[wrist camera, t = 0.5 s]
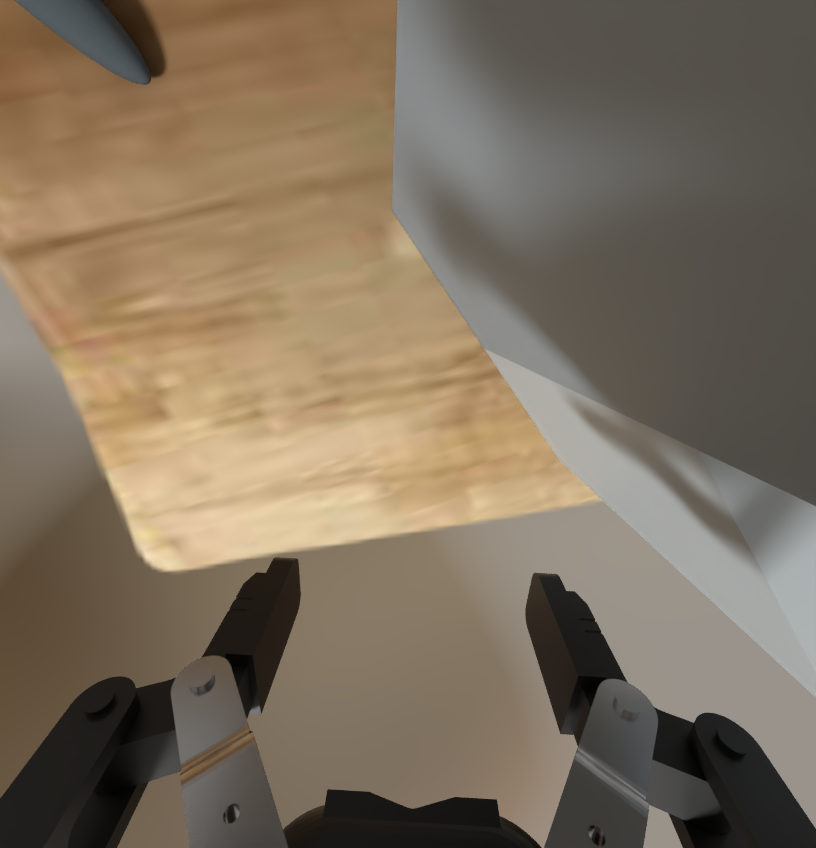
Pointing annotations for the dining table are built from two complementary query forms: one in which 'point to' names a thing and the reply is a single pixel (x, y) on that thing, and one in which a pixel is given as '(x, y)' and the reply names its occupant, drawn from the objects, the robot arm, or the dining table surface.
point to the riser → (639, 261)
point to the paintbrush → (92, 34)
